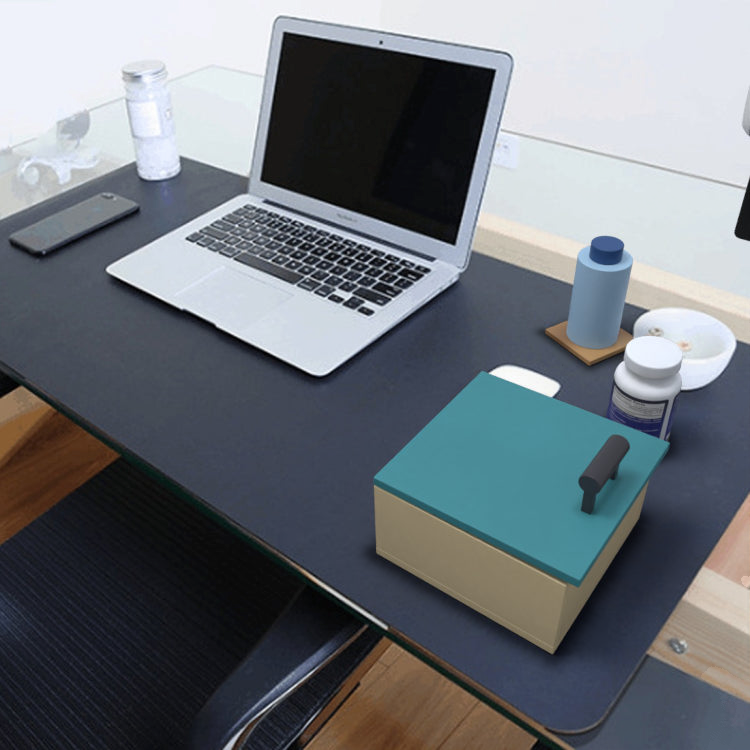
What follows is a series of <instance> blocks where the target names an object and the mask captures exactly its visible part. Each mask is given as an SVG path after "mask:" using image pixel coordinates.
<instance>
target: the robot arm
mask: <svg viewBox="0 0 750 750" xmlns="http://www.w3.org/2000/svg"><path fill="white" fill-rule="evenodd" d="M744 105H745V106H744V109H743V115H742V119H741V127H742V129H743V131H744V132H745V134H746V135H747V136H748V137H750V86H749V87H748V91H747V95H746V99H745V104H744ZM733 234H734V237H736V238H737V239H740V240H743V241H747V242H750V176H749V178H748V182H747V185H746V188H745V192H744V195H743V200H742V203H741V206H740V210H739V213H738V217H737V220H736V223H735V228H734V232H733Z"/></svg>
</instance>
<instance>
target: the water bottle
mask: <svg viewBox="0 0 750 750" xmlns="http://www.w3.org/2000/svg"><path fill="white" fill-rule="evenodd" d="M575 263H576V264H575V271H574V279H573V283H572V291H571V298H570V305H569V311H568V316H567V320H568V323H567V330H566V334H567V336H568V338H569V339H570V340H571V341H572V342H573V343H575V344H576V345H578V346H581V347H584V348H588V349H604V348H608V347H610V346H612V345H614V344H615V343H616V341H617V339H618V334H619V329H620V328H621V324H622V319H623V313H624V309H625V303H626V298H627V294H628V290H629V284H630V279H631V274H632V268H633V264H634V258H633V256H632V254H631V253H629V252H628V250H626V249H625V243H624V241H623V240H622V239H620V238H618V237H616V236H613V235H612V236H611V235H599V236H596V237H594V238H593V239H592V240H591V241H590V245H588V246H587V245H586V246H585V247H583V248H581V249H580V250H579V251H578V252H577V257H576V262H575Z"/></svg>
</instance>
